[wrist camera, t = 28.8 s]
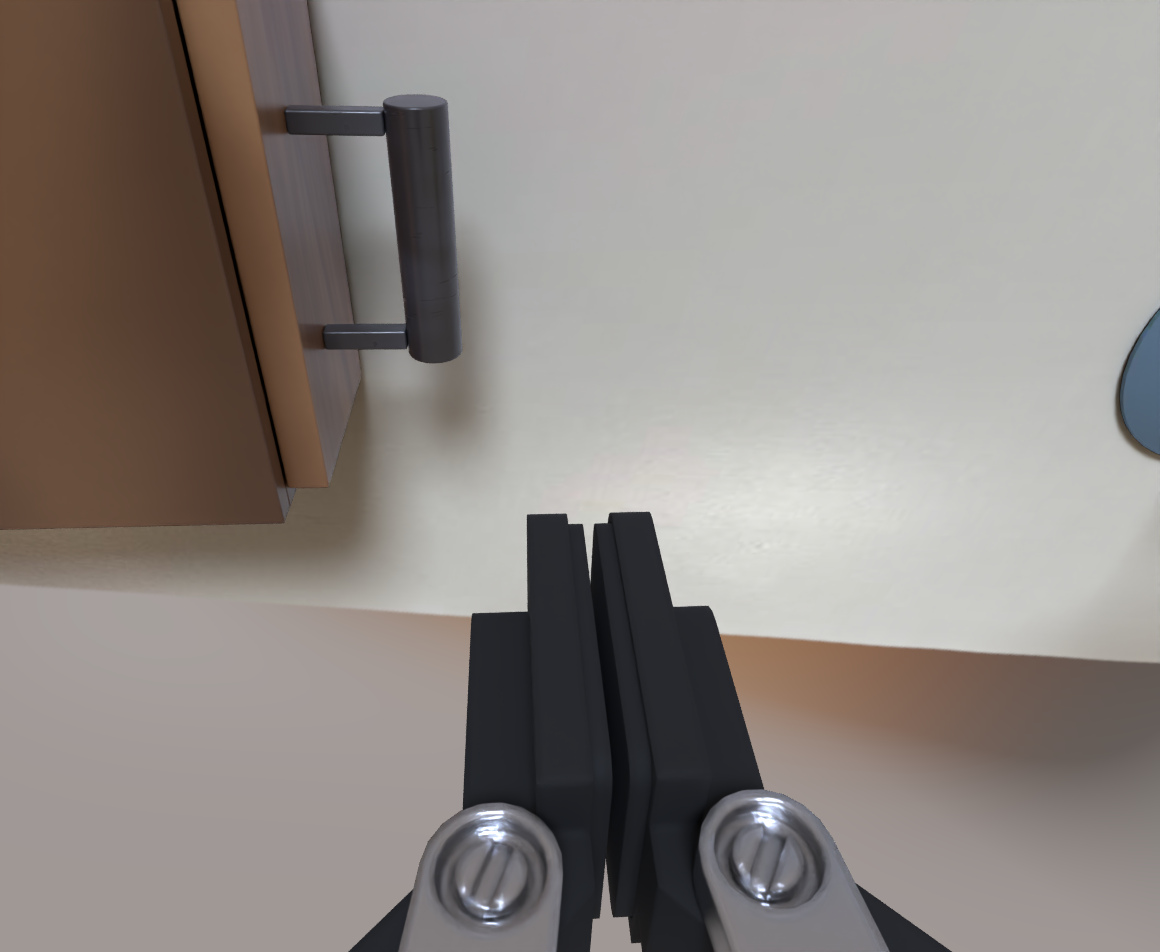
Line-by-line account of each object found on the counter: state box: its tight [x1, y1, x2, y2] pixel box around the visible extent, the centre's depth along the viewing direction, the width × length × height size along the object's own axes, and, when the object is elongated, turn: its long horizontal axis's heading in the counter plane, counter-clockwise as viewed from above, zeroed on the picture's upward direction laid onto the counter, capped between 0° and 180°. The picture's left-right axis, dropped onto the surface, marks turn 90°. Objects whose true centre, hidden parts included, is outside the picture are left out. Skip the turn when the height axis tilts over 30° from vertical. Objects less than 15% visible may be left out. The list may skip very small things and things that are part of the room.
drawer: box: [172, 0, 462, 488], centre depth 22 cm, size 20×13×7 cm
